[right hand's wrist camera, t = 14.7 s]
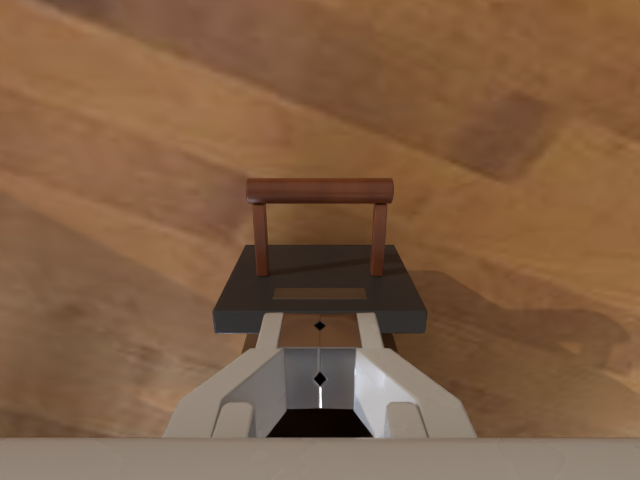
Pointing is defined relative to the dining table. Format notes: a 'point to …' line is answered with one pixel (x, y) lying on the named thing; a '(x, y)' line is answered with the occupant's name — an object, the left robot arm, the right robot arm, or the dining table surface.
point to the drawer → (319, 284)
